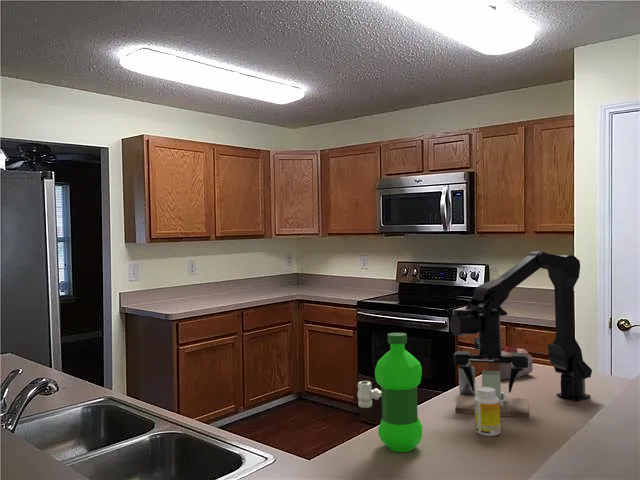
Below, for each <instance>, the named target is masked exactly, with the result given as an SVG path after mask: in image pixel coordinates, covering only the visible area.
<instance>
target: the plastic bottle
mask: <svg viewBox="0 0 640 480" xmlns="http://www.w3.org/2000/svg"><path fill="white" fill-rule="evenodd" d="M407 343H408V335H407V333H405V332H391V333H387V344H390V345H389V346H390V350H389V351H387V352H386V353H385V354H384V355H383V356H382V357H380V359H379V360H377V363H376V365H375V369H374V377H375V382H376V383H377V384H378V385H379V387H380V391H381V395H382V396H381V412H382V413H381V420H380V423H379V426H378V436H379V438H380V440H381V442H382V443H383V444H385V446H387V447H388V448H389V449H390V450H391V451H393V452H397V453H405V452H411V451H412V450H413V449H414V448H416V446H418V445H419V444H420V442H421V440H422V438H423V424H422V423H421V420H420V418H419V417H418V416H419V415H418V391H417V390H418V386H419V385H420V384H421V381H422V377H423V376H422V375H423V373H422V372H423V367H422V365H421V363H420V361H419V360H418V359H417V358H416V357H415V356H414V355H413V354H412V353H411V352H409V351H408V350H406V344H407Z"/></svg>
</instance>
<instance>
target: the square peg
mask: <svg viewBox="0 0 640 480" xmlns="http://www.w3.org/2000/svg"><path fill="white" fill-rule="evenodd" d="M481 372H482V373H481V387H491V388H494V389H495V393H496V397H498V398H499V400H501V387H502V386H501V380H500V371H488V370H482V371H481Z"/></svg>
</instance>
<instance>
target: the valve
mask: <svg viewBox="0 0 640 480" xmlns="http://www.w3.org/2000/svg"><path fill="white" fill-rule="evenodd" d="M372 388H373V387H372V382H371V381H369V380H362V381H358V383H357V389H358V390H357V399H358V401H357V402H358V403H357V404H358V407H360V408H362V409H367V408H368V409H370V408H371V407H373V400H372V399H374V400H379V399H380V398H382V395H381V389H380V390H379V389H378V387H376V388H373V389H372Z"/></svg>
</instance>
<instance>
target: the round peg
mask: <svg viewBox="0 0 640 480" xmlns="http://www.w3.org/2000/svg"><path fill="white" fill-rule="evenodd" d="M472 373H473V379H474V391H473V390H472V387H471V385H470V382H469V380H468V378H467V376H466V374H465V372H464V370H463V369H460V368H459V367H458V381H459V382H458V386H459V387H458V389H459V391H458V392H459V395H467V396H476V392H477V390H476V368H475V366H473V365H472Z"/></svg>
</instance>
